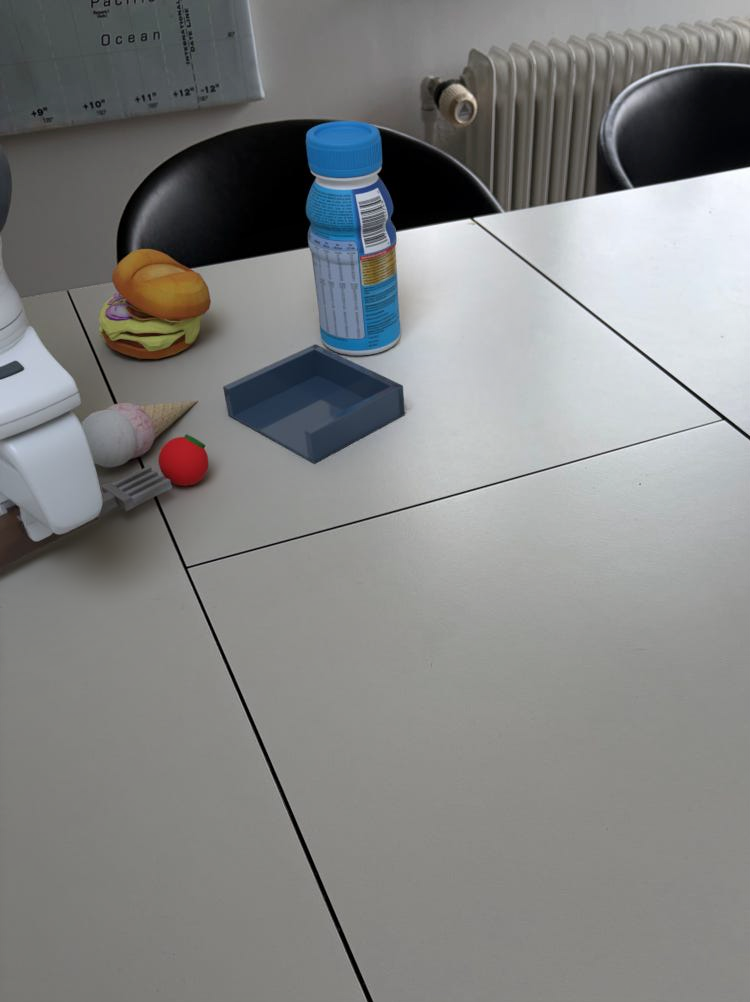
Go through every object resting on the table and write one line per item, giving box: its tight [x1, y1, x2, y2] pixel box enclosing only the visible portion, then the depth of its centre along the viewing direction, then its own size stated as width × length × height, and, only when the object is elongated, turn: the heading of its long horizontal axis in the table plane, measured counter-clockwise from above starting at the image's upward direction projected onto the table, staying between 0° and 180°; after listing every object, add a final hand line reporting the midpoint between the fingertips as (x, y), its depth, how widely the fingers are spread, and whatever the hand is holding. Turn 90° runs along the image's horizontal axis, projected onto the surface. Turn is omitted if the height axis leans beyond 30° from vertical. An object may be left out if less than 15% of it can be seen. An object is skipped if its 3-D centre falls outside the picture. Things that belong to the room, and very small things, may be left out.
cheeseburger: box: [98, 248, 212, 360], centre depth 104 cm, size 10×11×10 cm
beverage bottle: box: [305, 120, 402, 357], centre depth 100 cm, size 8×8×20 cm
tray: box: [222, 343, 406, 465], centre depth 95 cm, size 12×11×3 cm
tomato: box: [158, 434, 209, 487], centre depth 86 cm, size 4×4×4 cm
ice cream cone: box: [81, 399, 199, 468], centre depth 91 cm, size 5×5×15 cm
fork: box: [0, 465, 173, 569], centre depth 80 cm, size 16×3×3 cm, turn 137°
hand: (29, 526), depth 78 cm, fingers closed on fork
